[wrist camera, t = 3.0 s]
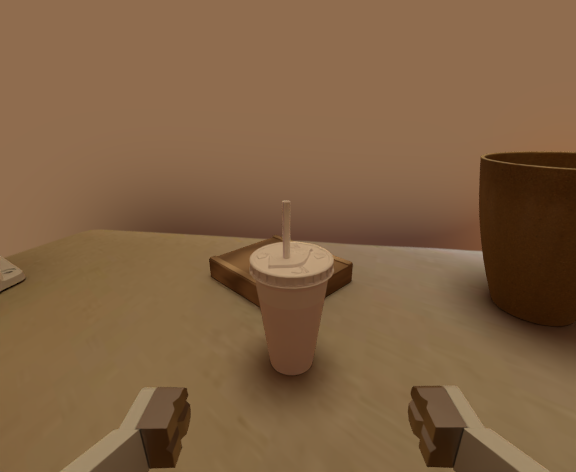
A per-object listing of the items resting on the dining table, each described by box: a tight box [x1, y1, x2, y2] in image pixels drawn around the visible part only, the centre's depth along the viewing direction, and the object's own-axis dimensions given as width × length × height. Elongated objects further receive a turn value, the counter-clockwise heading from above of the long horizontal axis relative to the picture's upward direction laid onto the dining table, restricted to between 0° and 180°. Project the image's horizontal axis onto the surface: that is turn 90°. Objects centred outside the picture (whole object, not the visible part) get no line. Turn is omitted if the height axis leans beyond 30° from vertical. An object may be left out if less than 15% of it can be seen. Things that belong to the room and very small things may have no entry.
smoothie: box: [249, 200, 334, 375], centre depth 23 cm, size 6×6×14 cm
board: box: [209, 235, 353, 307], centre depth 39 cm, size 14×12×3 cm
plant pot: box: [479, 152, 576, 326], centre depth 30 cm, size 15×15×16 cm
